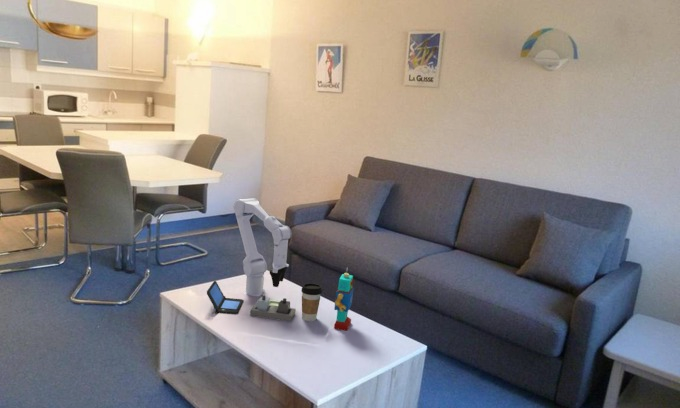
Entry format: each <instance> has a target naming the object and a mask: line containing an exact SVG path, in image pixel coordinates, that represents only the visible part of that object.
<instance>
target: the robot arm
mask: <svg viewBox="0 0 680 408" xmlns="http://www.w3.org/2000/svg"><path fill="white" fill-rule="evenodd" d="M233 210H234V214H235V218H236V221H237V225H238V229H239V233H240V237H241V240H242V244H243V248H244V253H245V254H246V256H245V258H243V260H242V265H243V266H242V267H243V273H244V274H245V276H246V281H245V282H246V283H245V291H243V293H242V295H244V296H245V295H246V296H250V297H251V296H252V297H259V298H260V297H262V296H261V295H263V294H264V292H265V291H266V289H264V282H265V273H266V272H267V270H268V264H267V261H266V260H265V257H264V256H263V255H262V254H260V253H259V251H258V248H257V244H256V240H255V237H254V232H253V230H252V226H251V222H250V220H251V218H252V217H253V216H254V215H255V216H256V217H257V218H258V219H259V220H261V221H262V222H263V226H264V227H265V228H266V229H267V231H269V232H270V233H271V235H272V239H273V244H274V246H273V259H272V263H271V264H272V269H270V270H269V275H270V277H271V282H272V283H271V284H272V286H273V287H274V288H279V285H280V282H283V281H284V280H285V279H284V278H285V275H286V272H287V270H288V268H289V266H290V264H288V263H287V259H288V258H287V257H288V248H289V247H288V246H289V240H290V239H291V237H292V229H291V228H290V226H288V225H284V224H283V223H281V222H280V221H279V220H278V219H277V217H276V216H273V215H269V214H268V213H267V212H266V210H264V208H262V206H261V205H260V201H258V199H256V198H255V197H251V198H244V199H243V198H241V199H237V200H235V203H234V205H233Z"/></svg>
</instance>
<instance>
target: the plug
mask: <svg viewBox="0 0 680 408" xmlns="http://www.w3.org/2000/svg"><path fill="white" fill-rule="evenodd" d="M261 295H262V296H260V297H259V298H258V299H257V302H256V303H257V310H264V311H268V309H269V301H270V300H271V299H270V297H269V298H267V297H266V295H265V294H261Z"/></svg>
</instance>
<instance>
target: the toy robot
mask: <svg viewBox="0 0 680 408" xmlns="http://www.w3.org/2000/svg"><path fill="white" fill-rule="evenodd" d="M348 269H349V268H348V267H346V270H345V272H344V273H342V274H341V276H340V277H339V280H338V287H337V290H336V292H335V298H334V311H336V320H335V323H334V325H333V329H336V330H340V331H341V330H342V331H346V332H347V331H348V330H349V327H350V325H351V322H352V318H351V317H349V316H348V314H349V310H350V308H351V307H352V303H353V295H354V287H353V283H354V275H351V274H349V273H348Z"/></svg>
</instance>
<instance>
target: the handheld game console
mask: <svg viewBox="0 0 680 408" xmlns="http://www.w3.org/2000/svg"><path fill="white" fill-rule="evenodd" d="M206 295H207V296H208V299H209V300H210V302H211V304H212V306H213V307H214V309H215V311H214V313H215V314H228V315H229V314H231V315H238V314H239V312H240V311H241V308H242V306H243V304H244V299H243V298H242V299H241V298H234V297H233V298H230V297H226V296H225V295H224V293H223V292H222V290H221V288H220V286H219V284H218V282H217V280H213V282H212V283H211V284H210V286H209V288H208V289H207V290H206Z"/></svg>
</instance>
